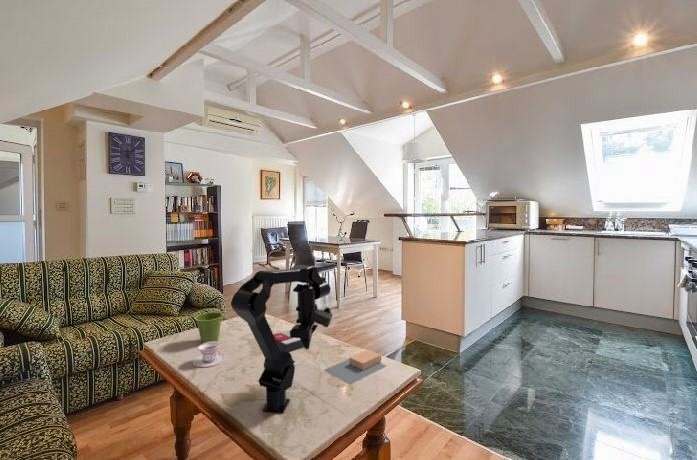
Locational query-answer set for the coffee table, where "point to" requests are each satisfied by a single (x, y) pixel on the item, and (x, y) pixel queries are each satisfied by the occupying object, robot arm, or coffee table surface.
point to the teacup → (209, 355)
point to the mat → (352, 371)
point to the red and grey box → (288, 341)
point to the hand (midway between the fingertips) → (307, 348)
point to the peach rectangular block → (365, 359)
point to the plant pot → (209, 326)
